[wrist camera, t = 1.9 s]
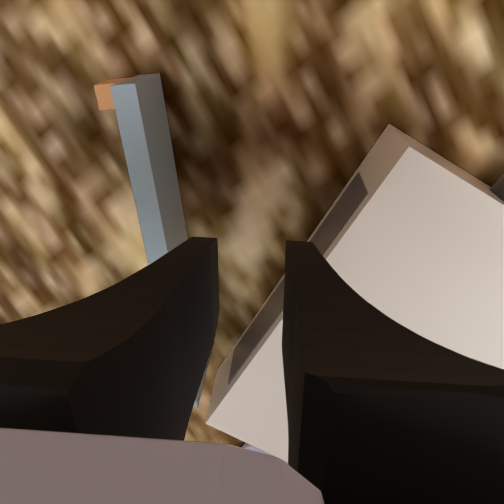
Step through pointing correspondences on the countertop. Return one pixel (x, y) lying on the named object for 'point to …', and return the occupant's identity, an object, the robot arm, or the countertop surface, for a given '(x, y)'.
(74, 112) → the countertop surface
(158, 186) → the side door
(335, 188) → the countertop surface
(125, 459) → the robot arm
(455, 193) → the white box with knob
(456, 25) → the countertop surface
